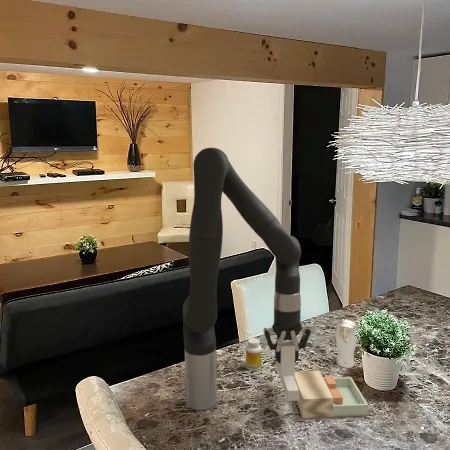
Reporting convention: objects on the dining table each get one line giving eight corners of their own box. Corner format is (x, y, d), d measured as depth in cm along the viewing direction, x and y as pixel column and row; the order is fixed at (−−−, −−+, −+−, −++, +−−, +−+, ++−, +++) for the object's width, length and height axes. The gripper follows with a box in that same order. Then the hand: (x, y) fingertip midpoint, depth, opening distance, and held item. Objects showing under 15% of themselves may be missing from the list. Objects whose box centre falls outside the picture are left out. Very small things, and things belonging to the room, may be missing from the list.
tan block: (302, 418, 128) (303, 399, 127) (292, 389, 143) (292, 371, 141) (332, 417, 128) (333, 398, 127) (319, 388, 143) (319, 370, 142)
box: (332, 417, 128) (333, 406, 128) (319, 388, 143) (319, 378, 142) (367, 416, 129) (368, 404, 128) (350, 387, 143) (351, 377, 143)
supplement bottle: (260, 371, 154) (260, 344, 152) (244, 369, 155) (244, 343, 153) (262, 363, 159) (262, 337, 157) (247, 362, 160) (247, 336, 158)
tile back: (327, 383, 136) (336, 383, 136) (324, 376, 141) (332, 376, 141) (327, 397, 137) (335, 397, 137) (324, 389, 142) (332, 389, 142)
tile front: (334, 397, 129) (342, 397, 129) (329, 389, 133) (338, 388, 134) (333, 412, 130) (342, 411, 130) (329, 403, 134) (337, 402, 134)
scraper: (285, 400, 124) (286, 360, 122) (274, 364, 144) (274, 329, 141) (300, 400, 124) (301, 359, 122) (286, 364, 144) (287, 328, 141)
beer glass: (357, 361, 160) (359, 321, 157) (353, 370, 154) (355, 328, 151) (337, 357, 163) (338, 318, 160) (333, 366, 157) (334, 325, 154)
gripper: (308, 300, 133) (307, 354, 137) (260, 301, 133) (260, 356, 136) (315, 310, 126) (313, 367, 129) (264, 311, 125) (264, 369, 129)
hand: (286, 361), depth 133 cm, fingers closed on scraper, 4 cm apart
